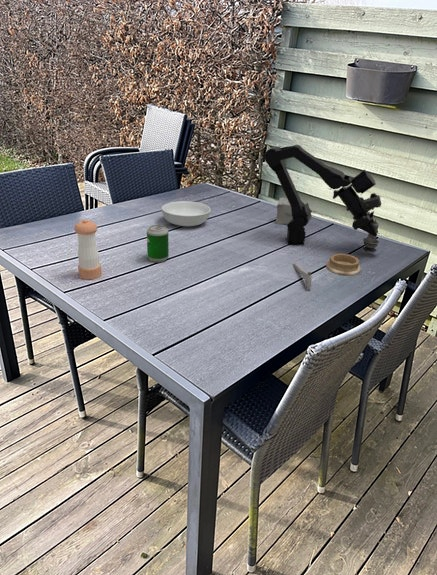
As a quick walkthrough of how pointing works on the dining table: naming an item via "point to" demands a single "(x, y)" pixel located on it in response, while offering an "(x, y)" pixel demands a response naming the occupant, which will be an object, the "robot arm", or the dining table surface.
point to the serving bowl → (186, 213)
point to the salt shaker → (371, 240)
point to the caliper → (304, 275)
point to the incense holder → (283, 211)
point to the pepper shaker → (87, 250)
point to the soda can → (157, 243)
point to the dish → (343, 264)
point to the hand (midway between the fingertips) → (376, 233)
